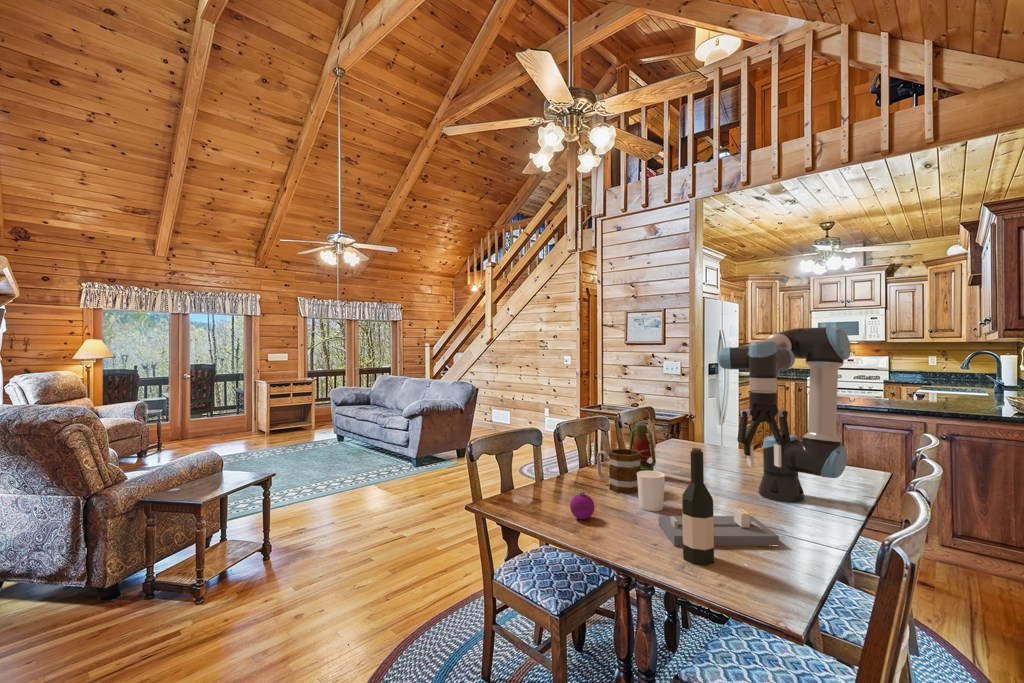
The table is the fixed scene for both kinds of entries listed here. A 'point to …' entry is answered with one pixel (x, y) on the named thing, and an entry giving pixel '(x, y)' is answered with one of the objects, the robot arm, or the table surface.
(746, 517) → the fader
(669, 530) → the panel
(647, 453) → the lantern
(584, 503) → the christmas ornament
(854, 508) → the table surface
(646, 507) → the candle holder
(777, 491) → the robot arm
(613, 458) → the mug
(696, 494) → the wine bottle
